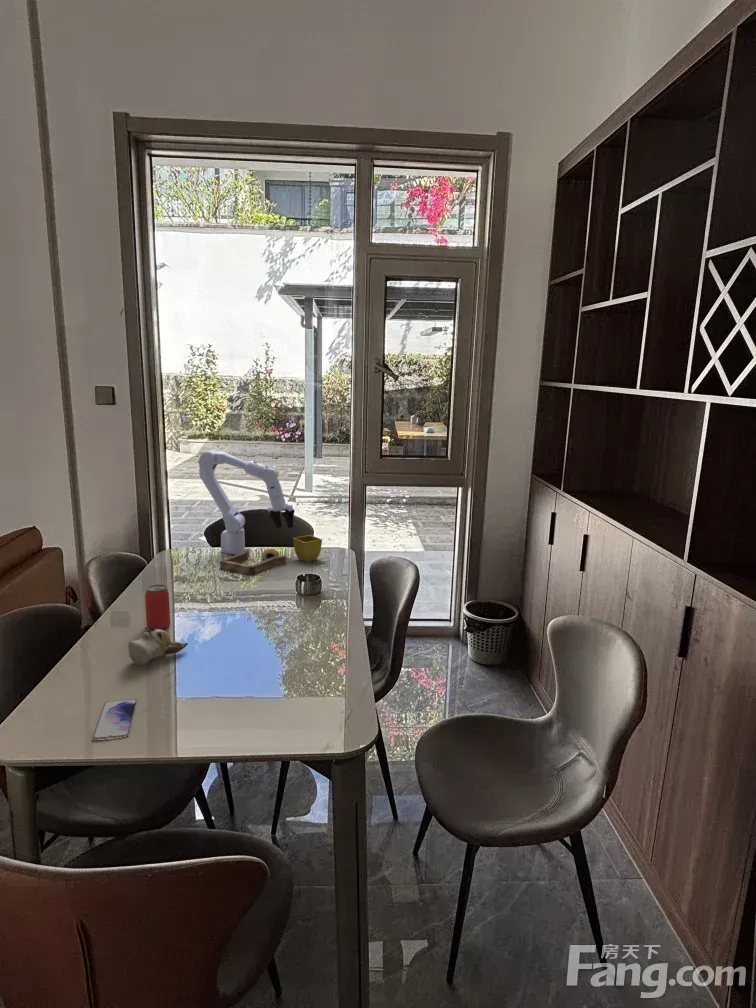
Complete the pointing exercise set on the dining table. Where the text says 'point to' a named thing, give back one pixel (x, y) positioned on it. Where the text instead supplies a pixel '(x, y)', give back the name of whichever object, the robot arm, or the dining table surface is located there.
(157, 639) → the ceramic sculpture
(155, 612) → the beer can
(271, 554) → the pastry
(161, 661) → the dining table surface
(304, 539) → the flower pot
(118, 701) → the smartphone
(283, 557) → the holder
